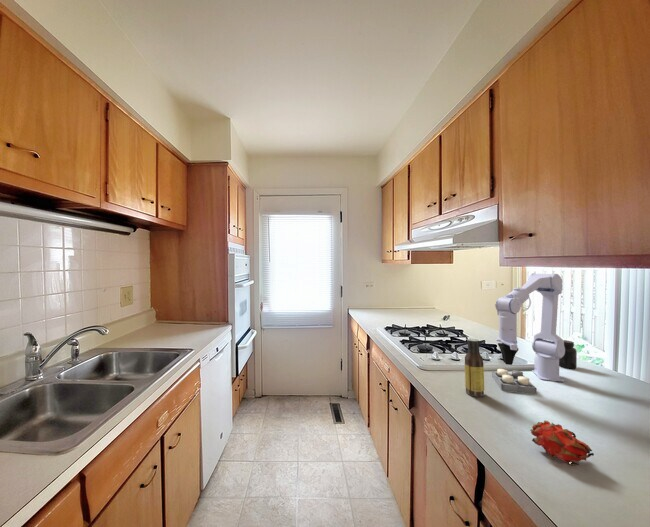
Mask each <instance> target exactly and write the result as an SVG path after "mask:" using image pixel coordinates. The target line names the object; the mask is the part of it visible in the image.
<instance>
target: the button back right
mask: <svg viewBox="0 0 650 527" xmlns="http://www.w3.org/2000/svg"><path fill="white" fill-rule="evenodd" d="M496 372H497V375H499V376H501V377H502V375H508V373H509V370H507V369H504V368H497V370H496Z"/></svg>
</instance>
